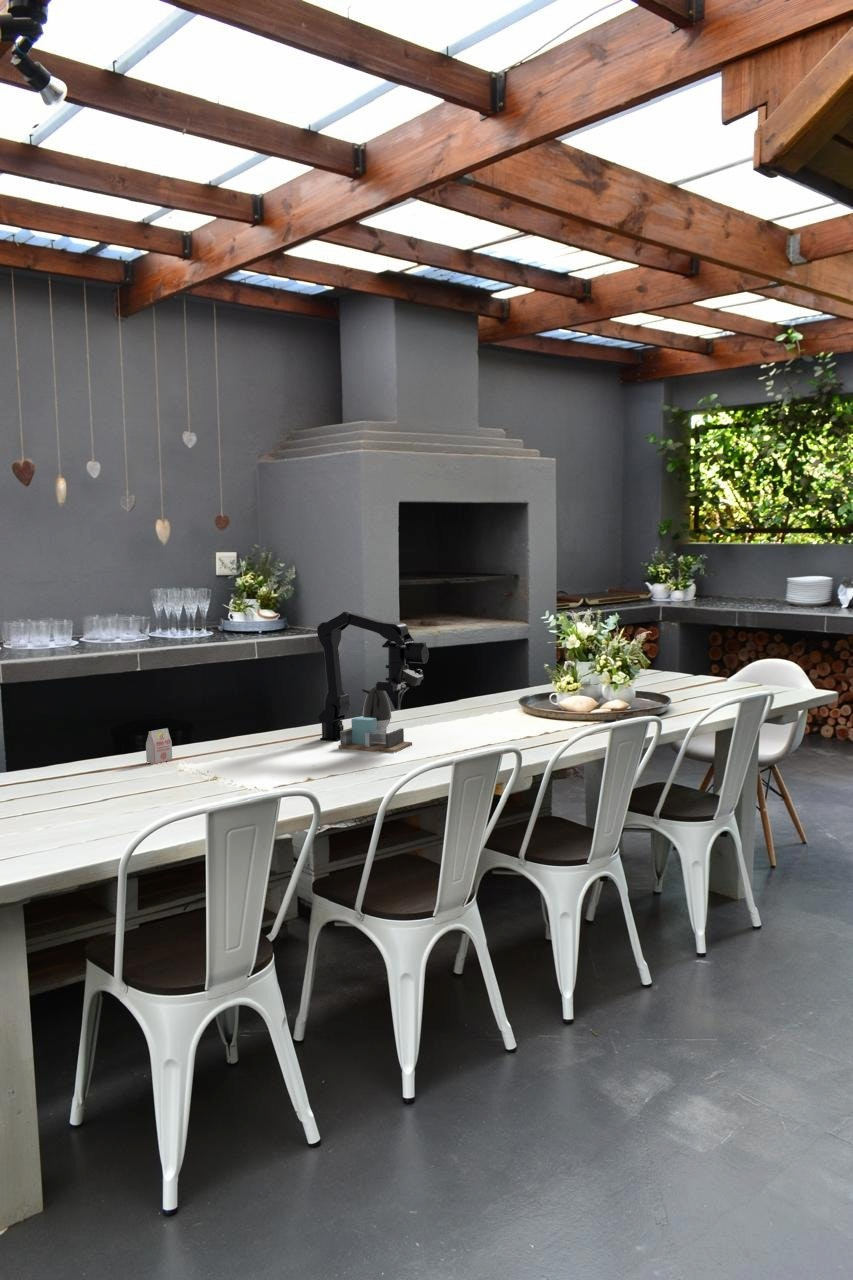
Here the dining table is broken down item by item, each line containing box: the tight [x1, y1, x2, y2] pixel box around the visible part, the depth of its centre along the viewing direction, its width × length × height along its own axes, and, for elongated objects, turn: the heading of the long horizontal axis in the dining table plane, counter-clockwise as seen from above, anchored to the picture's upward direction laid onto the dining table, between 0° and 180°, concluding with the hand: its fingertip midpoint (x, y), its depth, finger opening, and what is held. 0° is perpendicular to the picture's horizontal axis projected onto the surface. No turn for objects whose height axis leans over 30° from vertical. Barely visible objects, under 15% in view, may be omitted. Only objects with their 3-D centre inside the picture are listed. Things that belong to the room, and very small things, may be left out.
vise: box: [338, 727, 413, 753], centre depth 327 cm, size 20×13×6 cm, turn 65°
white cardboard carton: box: [145, 727, 173, 765], centre depth 309 cm, size 4×7×10 cm, turn 142°
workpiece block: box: [351, 716, 377, 744], centre depth 328 cm, size 7×4×8 cm, turn 65°
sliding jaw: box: [365, 727, 405, 748], centre depth 325 cm, size 8×12×4 cm, turn 155°
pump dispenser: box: [360, 685, 392, 729], centre depth 360 cm, size 10×10×15 cm
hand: (396, 709), depth 330 cm, fingers closed
